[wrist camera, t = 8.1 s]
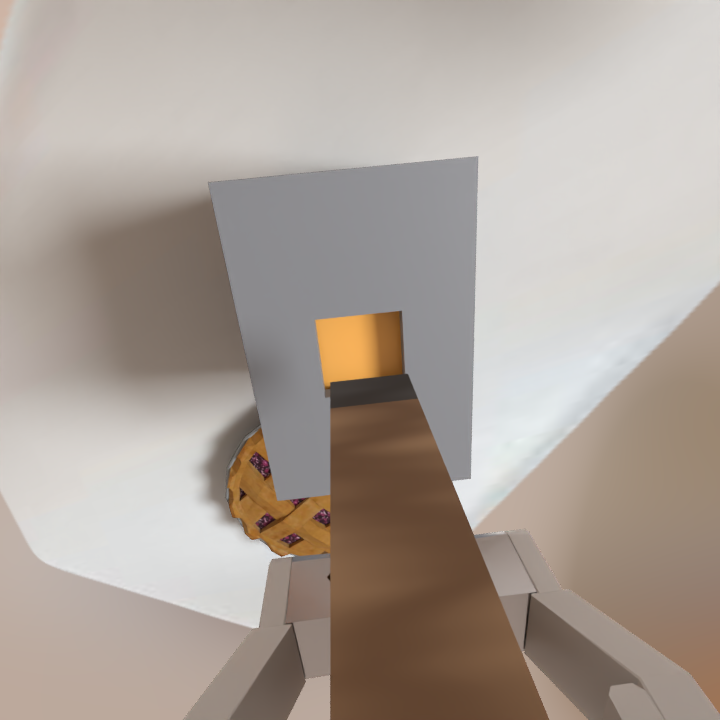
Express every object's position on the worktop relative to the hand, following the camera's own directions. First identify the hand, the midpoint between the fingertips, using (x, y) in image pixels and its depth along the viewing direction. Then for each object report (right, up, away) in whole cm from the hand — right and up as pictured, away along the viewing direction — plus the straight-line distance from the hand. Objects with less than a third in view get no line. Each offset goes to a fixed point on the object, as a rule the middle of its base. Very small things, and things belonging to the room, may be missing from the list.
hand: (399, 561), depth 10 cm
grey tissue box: (-2, +13, +30) cm, 33 cm away
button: (-1, +6, +15) cm, 16 cm away
